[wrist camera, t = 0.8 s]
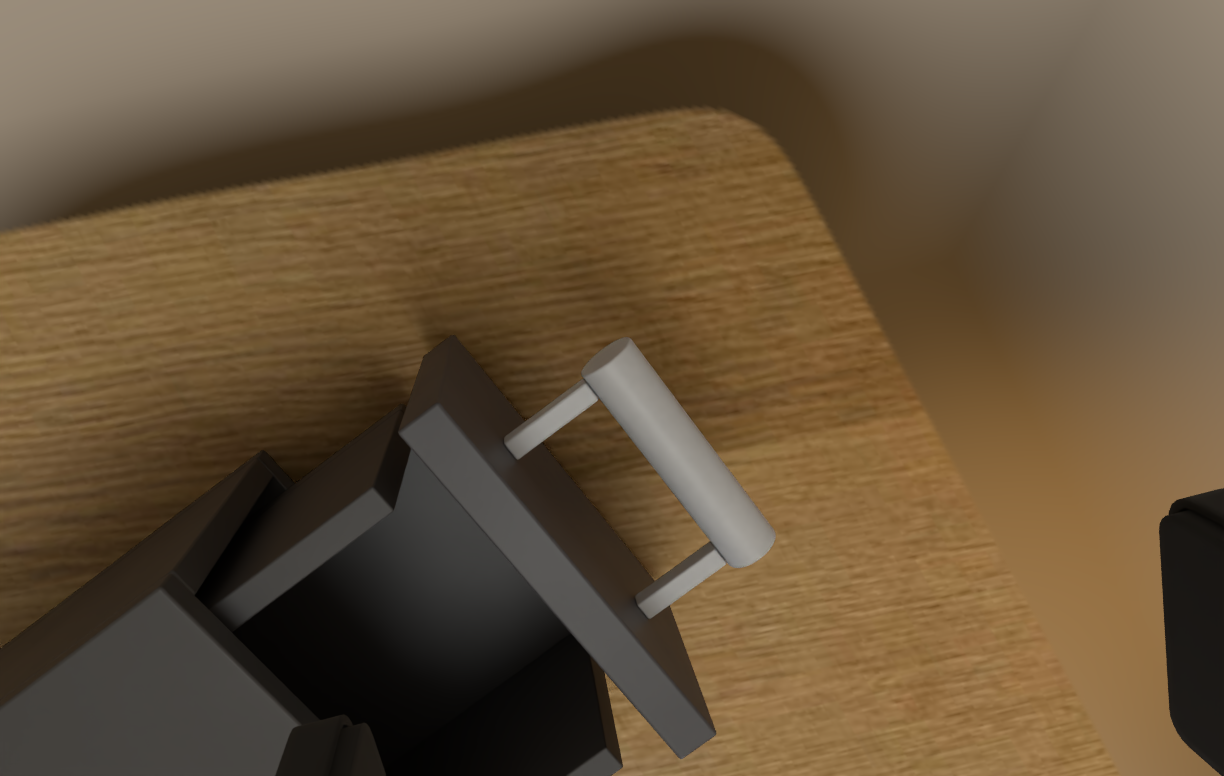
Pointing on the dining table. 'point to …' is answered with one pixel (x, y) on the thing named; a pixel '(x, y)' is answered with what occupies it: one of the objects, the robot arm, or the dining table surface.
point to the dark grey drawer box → (150, 662)
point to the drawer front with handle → (484, 578)
